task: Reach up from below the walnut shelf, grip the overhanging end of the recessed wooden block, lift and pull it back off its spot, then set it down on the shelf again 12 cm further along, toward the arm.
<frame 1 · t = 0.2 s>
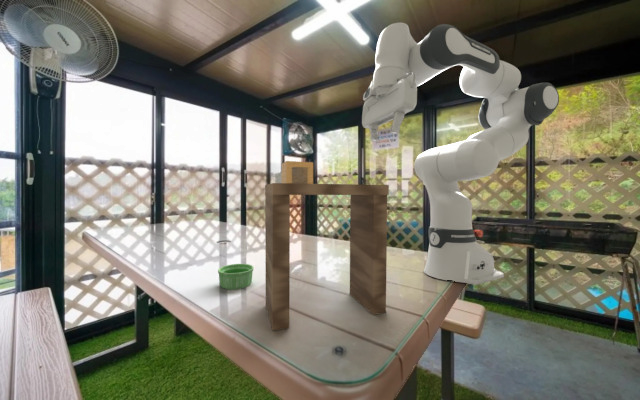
hand: (383, 136, 69), 40 cm above the table, tool pointing down, fingers open, 8 cm apart
recessed wooden block: (289, 185, 56), point 26 cm above the table, touching shelf
ramekin: (236, 285, 69), on the table
shelf: (323, 308, 54), on the table
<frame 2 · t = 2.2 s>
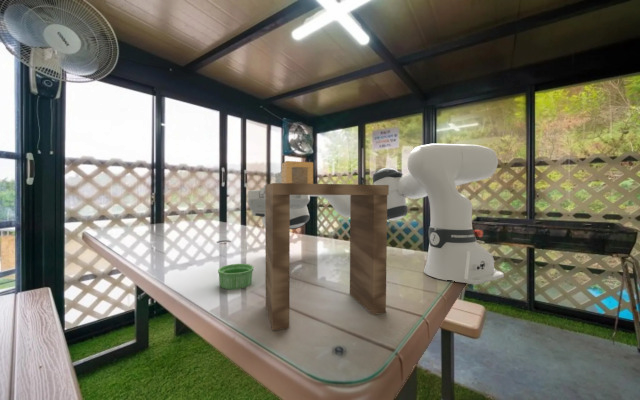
hand: (282, 187, 80), 26 cm above the table, tool pointing upward, fingers open, 8 cm apart
nothing on the table moved.
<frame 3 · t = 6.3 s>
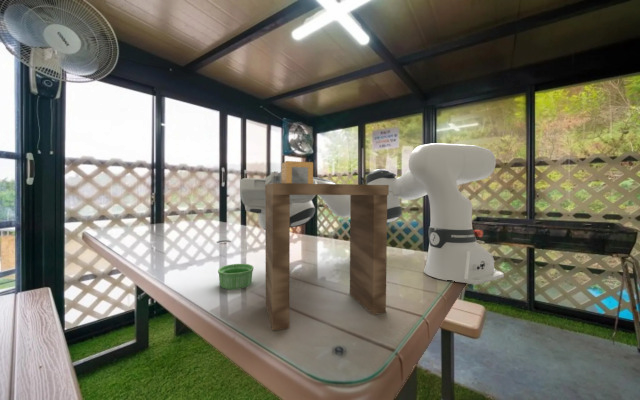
hand: (283, 173, 62), 29 cm above the table, tool pointing upward, fingers closed on recessed wooden block, 3 cm apart
recessed wooden block: (289, 185, 56), point 26 cm above the table, touching gripper, shelf
everything else where it was.
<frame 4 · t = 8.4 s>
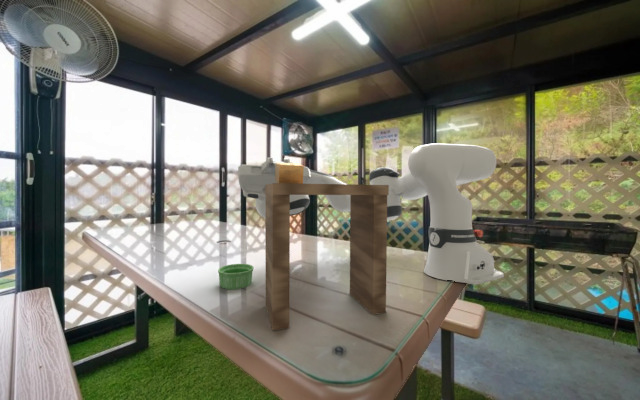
hand: (278, 160, 67), 33 cm above the table, tool pointing upward, fingers closed on recessed wooden block, 3 cm apart
recessed wooden block: (282, 177, 62), point 28 cm above the table, tilted 12°, touching gripper
everything else where it was.
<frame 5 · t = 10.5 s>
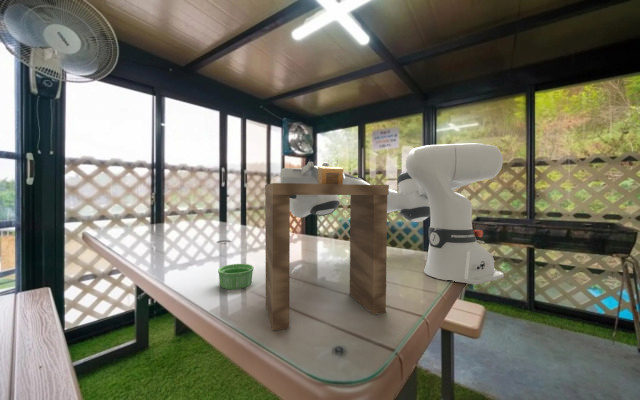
hand: (319, 164, 74), 33 cm above the table, tool pointing upward, fingers closed on recessed wooden block, 3 cm apart
recessed wooden block: (322, 180, 69), point 28 cm above the table, tilted 10°, touching gripper
everything else where it was.
when the fingers open (30 cm above the table, at t = 12.7 s): recessed wooden block stays where it is, resting on shelf.
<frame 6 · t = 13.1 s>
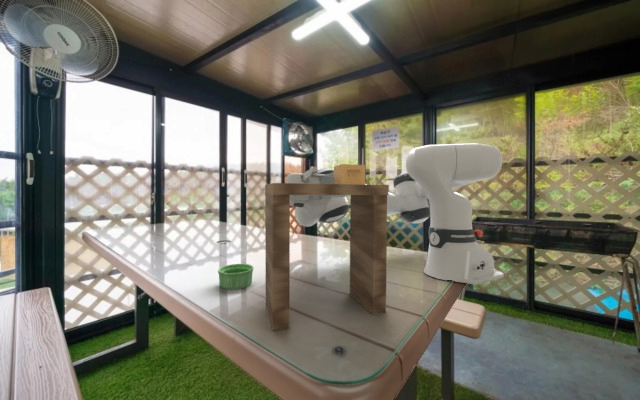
hand: (330, 169, 66), 30 cm above the table, tool pointing upward, fingers open, 7 cm apart
recessed wooden block: (337, 186, 61), point 26 cm above the table, touching shelf
everything else where it was.
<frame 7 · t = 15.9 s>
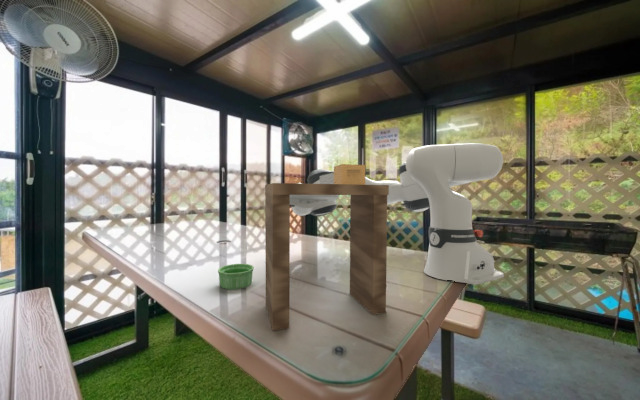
hand: (314, 186, 82), 27 cm above the table, tool pointing upward, fingers open, 8 cm apart
nothing on the table moved.
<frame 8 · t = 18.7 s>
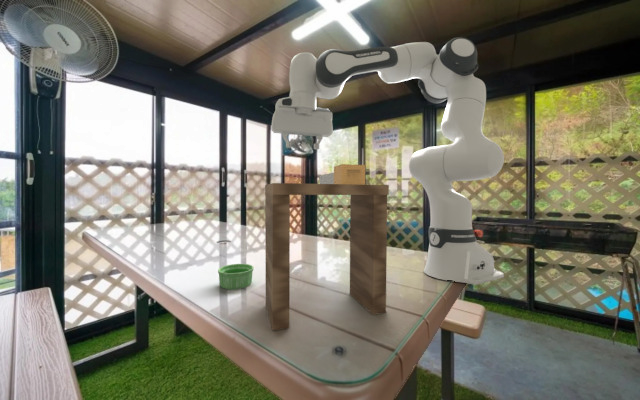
hand: (302, 148, 85), 39 cm above the table, tool pointing down, fingers open, 8 cm apart
nothing on the table moved.
at the end: recessed wooden block inside the target area (0.9 cm from its centre), point 26.0 cm above the table; the gripper is holding nothing; recessed wooden block touching shelf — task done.
